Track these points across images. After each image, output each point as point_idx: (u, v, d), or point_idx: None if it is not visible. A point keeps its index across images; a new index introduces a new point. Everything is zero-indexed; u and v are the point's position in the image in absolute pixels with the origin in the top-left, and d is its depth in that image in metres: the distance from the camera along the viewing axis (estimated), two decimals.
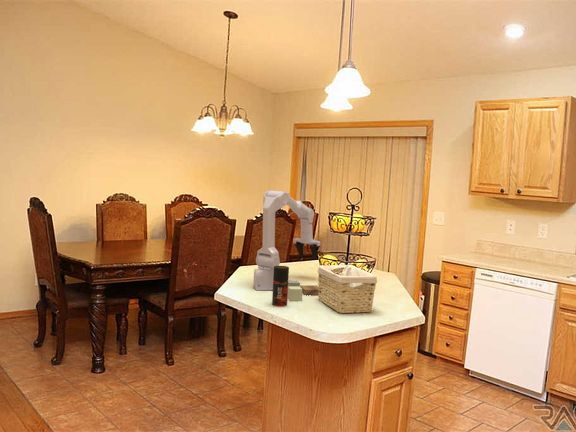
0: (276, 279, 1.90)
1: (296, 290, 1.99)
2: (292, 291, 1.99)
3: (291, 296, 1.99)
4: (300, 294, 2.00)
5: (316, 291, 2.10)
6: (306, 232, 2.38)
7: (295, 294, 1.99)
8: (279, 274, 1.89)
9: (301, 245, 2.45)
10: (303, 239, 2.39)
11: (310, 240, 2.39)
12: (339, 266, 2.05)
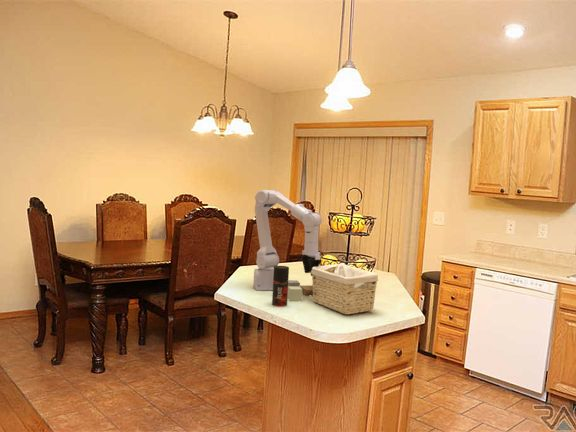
0: (276, 279, 1.90)
1: (296, 290, 1.99)
2: (292, 291, 1.99)
3: (291, 296, 1.99)
4: (300, 294, 2.00)
5: None
6: None
7: (295, 294, 1.99)
8: (279, 274, 1.89)
9: (308, 259, 2.07)
10: (304, 250, 2.03)
11: (311, 252, 2.01)
12: (331, 266, 2.02)
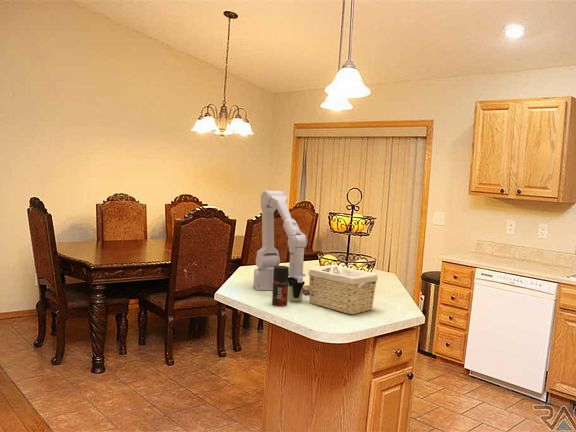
0: (276, 279, 1.90)
1: None
2: (292, 291, 1.99)
3: (291, 296, 1.99)
4: (300, 294, 2.00)
5: None
6: None
7: None
8: (279, 274, 1.89)
9: (294, 280, 2.04)
10: (289, 271, 2.01)
11: (295, 274, 1.98)
12: (325, 267, 2.02)
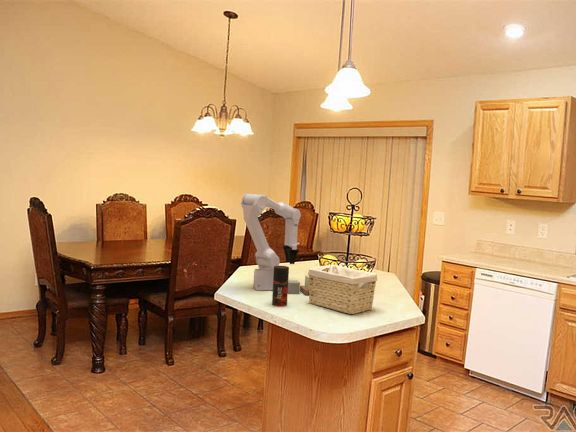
0: (276, 279, 1.90)
1: None
2: None
3: None
4: None
5: None
6: (290, 233, 2.25)
7: None
8: (279, 274, 1.89)
9: (289, 248, 2.32)
10: (285, 240, 2.28)
11: (290, 243, 2.25)
12: (325, 267, 2.02)
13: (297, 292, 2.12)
